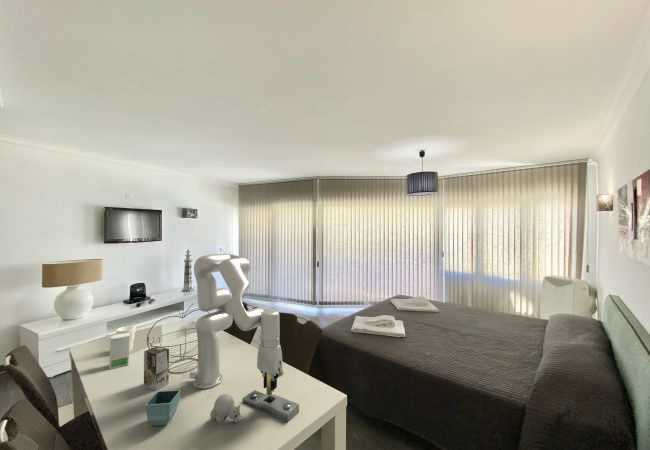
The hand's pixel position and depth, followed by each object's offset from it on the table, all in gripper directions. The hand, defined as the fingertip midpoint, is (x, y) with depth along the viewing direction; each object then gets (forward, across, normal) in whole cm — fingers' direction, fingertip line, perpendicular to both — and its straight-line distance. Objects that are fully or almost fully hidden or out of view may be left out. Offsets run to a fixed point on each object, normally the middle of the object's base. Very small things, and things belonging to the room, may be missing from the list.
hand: (270, 387), depth 110 cm
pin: (+2, 0, 0) cm, 2 cm away
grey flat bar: (+8, 0, 0) cm, 8 cm away
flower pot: (+8, -29, -27) cm, 40 cm away
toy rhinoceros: (+8, -9, -14) cm, 18 cm away
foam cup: (+7, -111, -4) cm, 111 cm away
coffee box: (+7, -56, -15) cm, 59 cm away
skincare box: (+7, -93, -15) cm, 95 cm away
